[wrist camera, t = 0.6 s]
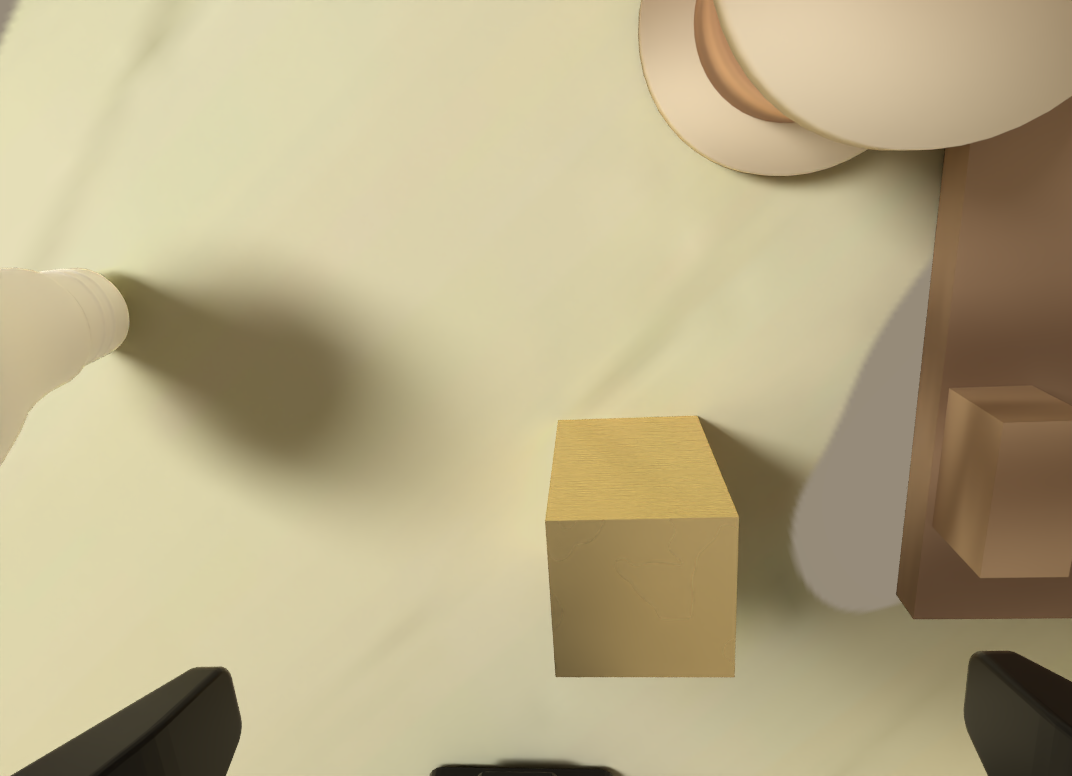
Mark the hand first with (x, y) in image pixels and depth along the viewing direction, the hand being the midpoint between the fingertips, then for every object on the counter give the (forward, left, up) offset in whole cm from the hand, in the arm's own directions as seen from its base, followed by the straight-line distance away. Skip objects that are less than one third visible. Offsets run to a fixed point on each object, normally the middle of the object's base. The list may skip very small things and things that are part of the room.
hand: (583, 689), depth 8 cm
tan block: (-3, -1, -12) cm, 13 cm away
